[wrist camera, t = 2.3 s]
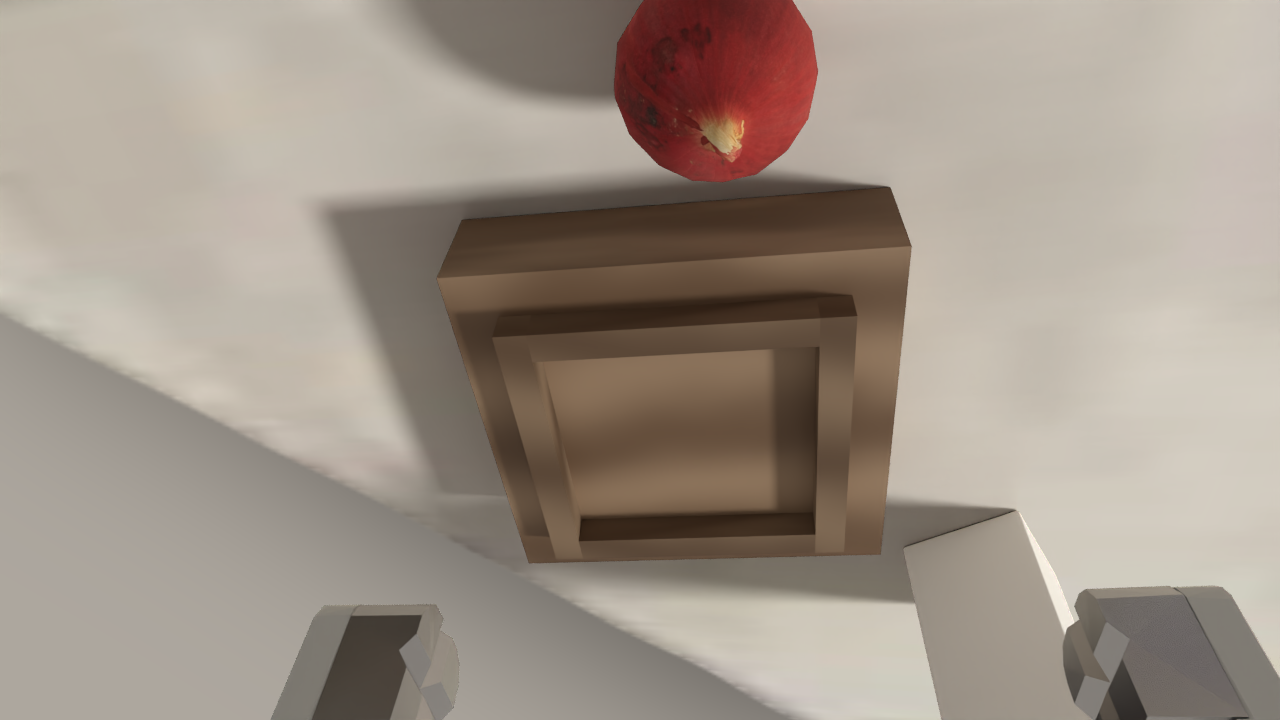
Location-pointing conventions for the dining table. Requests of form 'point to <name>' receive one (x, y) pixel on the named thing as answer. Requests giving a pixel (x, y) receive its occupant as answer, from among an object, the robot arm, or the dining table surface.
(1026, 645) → the milk
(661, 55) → the onion
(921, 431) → the dining table surface
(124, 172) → the dining table surface
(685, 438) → the walnut pedestal
